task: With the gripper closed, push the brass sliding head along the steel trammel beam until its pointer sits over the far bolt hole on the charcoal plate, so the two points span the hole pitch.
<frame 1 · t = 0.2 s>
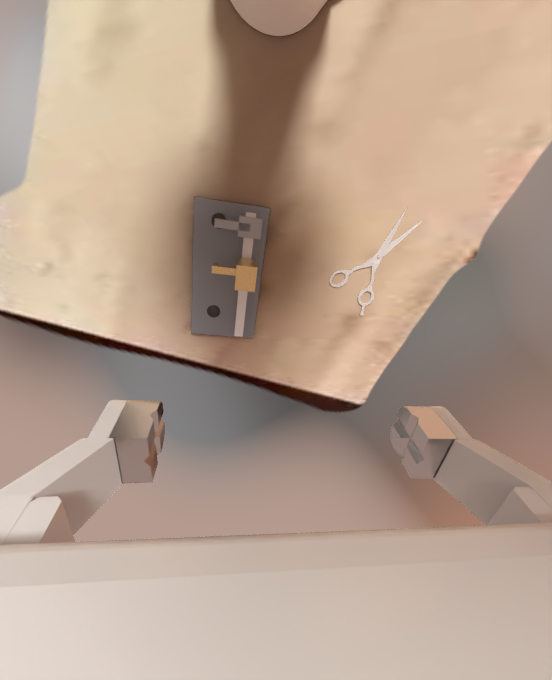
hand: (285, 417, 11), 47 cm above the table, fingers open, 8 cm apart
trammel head: (233, 271, 50), point 5 cm above the table, slide at 7.0 cm
scissors: (375, 259, 58), on the table
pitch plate: (227, 274, 55), on the table
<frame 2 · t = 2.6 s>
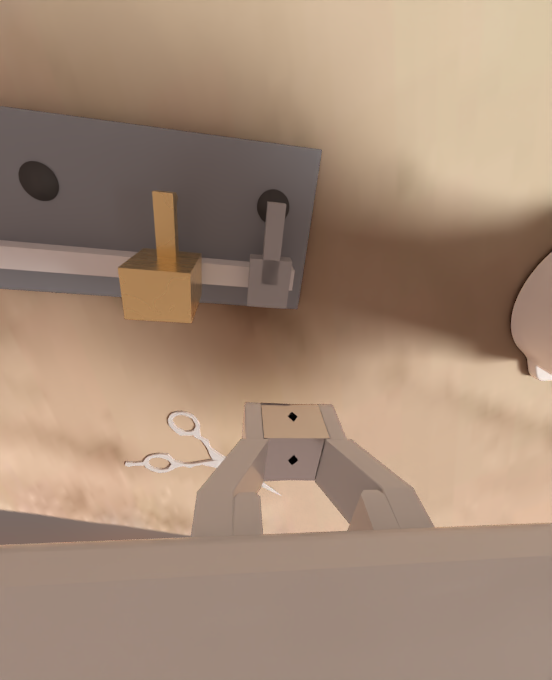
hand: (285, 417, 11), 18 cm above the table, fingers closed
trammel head: (166, 252, 20), point 5 cm above the table, slide at 7.0 cm
scissors: (223, 458, 38), on the table
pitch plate: (152, 221, 24), on the table
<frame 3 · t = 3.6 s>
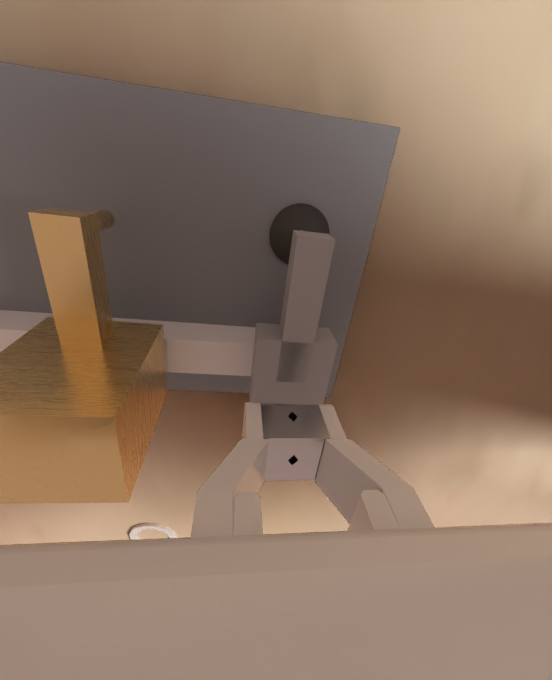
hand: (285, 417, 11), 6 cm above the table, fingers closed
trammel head: (80, 337, 9), point 5 cm above the table, slide at 7.0 cm
scissors: (212, 569, 27), on the table
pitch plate: (78, 257, 13), on the table
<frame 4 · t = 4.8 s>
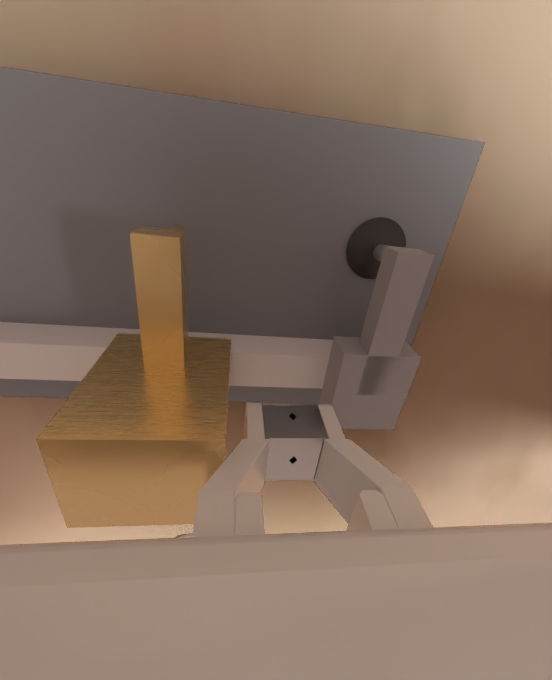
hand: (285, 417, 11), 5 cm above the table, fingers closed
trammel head: (163, 355, 9), point 5 cm above the table, slide at 7.5 cm, touching gripper
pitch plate: (151, 272, 13), on the table
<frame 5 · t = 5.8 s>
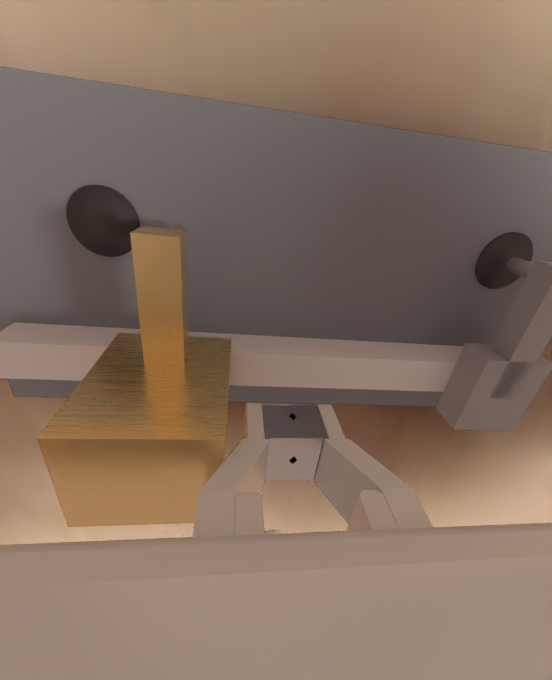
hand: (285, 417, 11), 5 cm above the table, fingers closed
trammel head: (164, 355, 9), point 5 cm above the table, slide at 13.3 cm, touching gripper
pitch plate: (287, 282, 14), on the table
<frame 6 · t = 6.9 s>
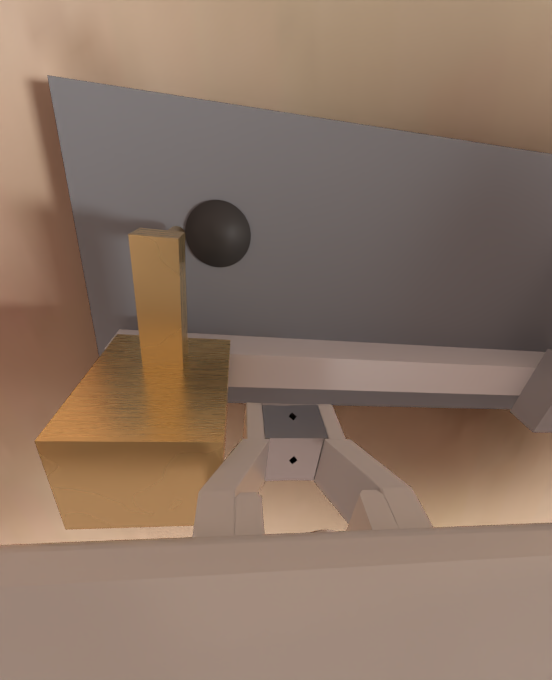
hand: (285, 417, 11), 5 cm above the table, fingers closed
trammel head: (162, 356, 9), point 5 cm above the table, slide at 17.4 cm, touching gripper
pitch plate: (372, 290, 14), on the table
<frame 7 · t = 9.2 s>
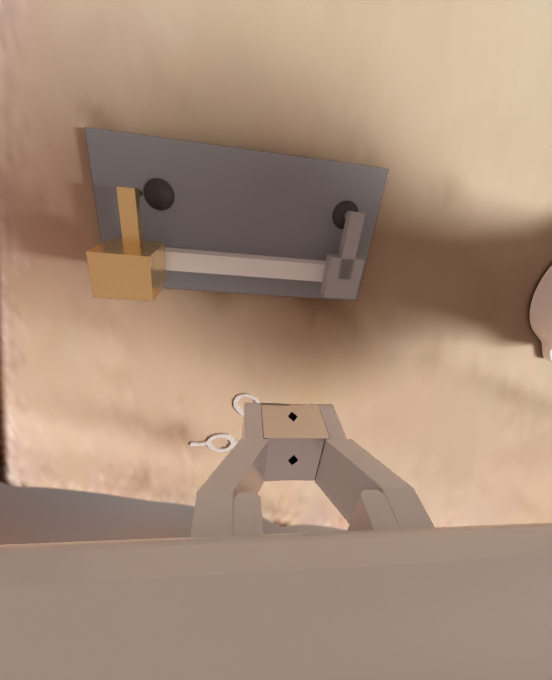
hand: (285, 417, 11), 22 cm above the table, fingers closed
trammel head: (131, 240, 23), point 5 cm above the table, slide at 17.4 cm
scissors: (275, 438, 42), on the table
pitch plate: (243, 226, 28), on the table
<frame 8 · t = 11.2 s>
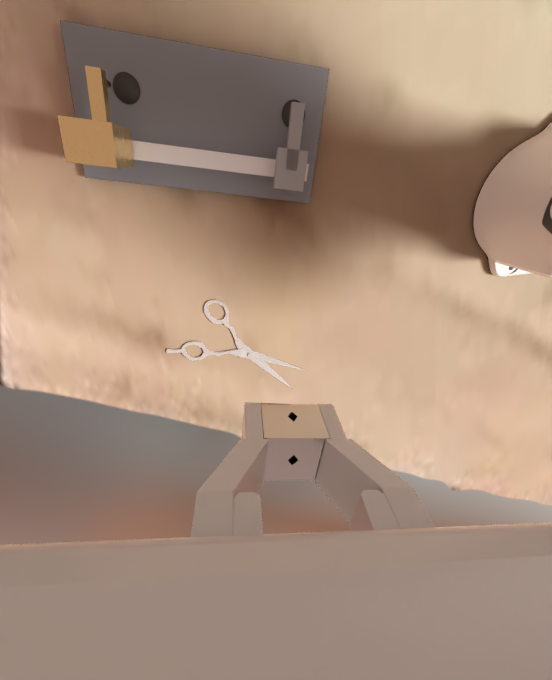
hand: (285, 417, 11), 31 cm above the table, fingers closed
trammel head: (99, 119, 27), point 5 cm above the table, slide at 17.4 cm
scissors: (245, 350, 46), on the table
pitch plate: (203, 126, 32), on the table
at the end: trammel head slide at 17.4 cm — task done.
